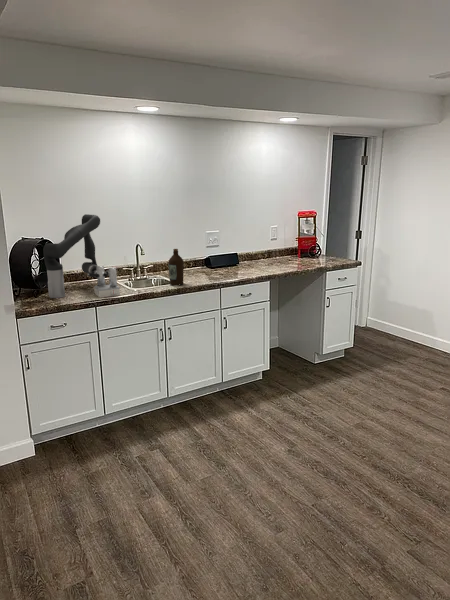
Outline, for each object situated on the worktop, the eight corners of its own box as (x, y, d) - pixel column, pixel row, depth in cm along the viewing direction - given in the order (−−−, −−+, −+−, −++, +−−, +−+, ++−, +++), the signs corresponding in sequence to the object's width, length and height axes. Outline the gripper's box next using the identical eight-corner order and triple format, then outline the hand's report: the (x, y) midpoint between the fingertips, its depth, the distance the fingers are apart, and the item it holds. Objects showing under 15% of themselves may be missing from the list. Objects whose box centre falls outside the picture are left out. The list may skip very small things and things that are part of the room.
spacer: (98, 286, 288) (97, 267, 285) (97, 284, 292) (95, 266, 289) (106, 285, 290) (104, 266, 287) (104, 283, 294) (102, 265, 291)
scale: (99, 297, 282) (99, 289, 281) (94, 293, 293) (94, 285, 292) (120, 295, 288) (119, 287, 287) (114, 291, 299) (114, 283, 298)
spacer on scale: (110, 287, 286) (109, 269, 283) (108, 286, 290) (107, 268, 287) (118, 287, 288) (116, 268, 285) (116, 285, 292) (114, 267, 289)
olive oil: (176, 282, 327) (175, 247, 321) (187, 284, 321) (186, 248, 314) (165, 284, 318) (164, 249, 312) (177, 286, 312) (176, 250, 306)
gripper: (84, 266, 297) (90, 270, 283) (105, 264, 304) (112, 268, 289) (84, 277, 299) (90, 282, 285) (106, 275, 306) (113, 280, 291)
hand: (101, 275), depth 287 cm, fingers closed on spacer, 4 cm apart
